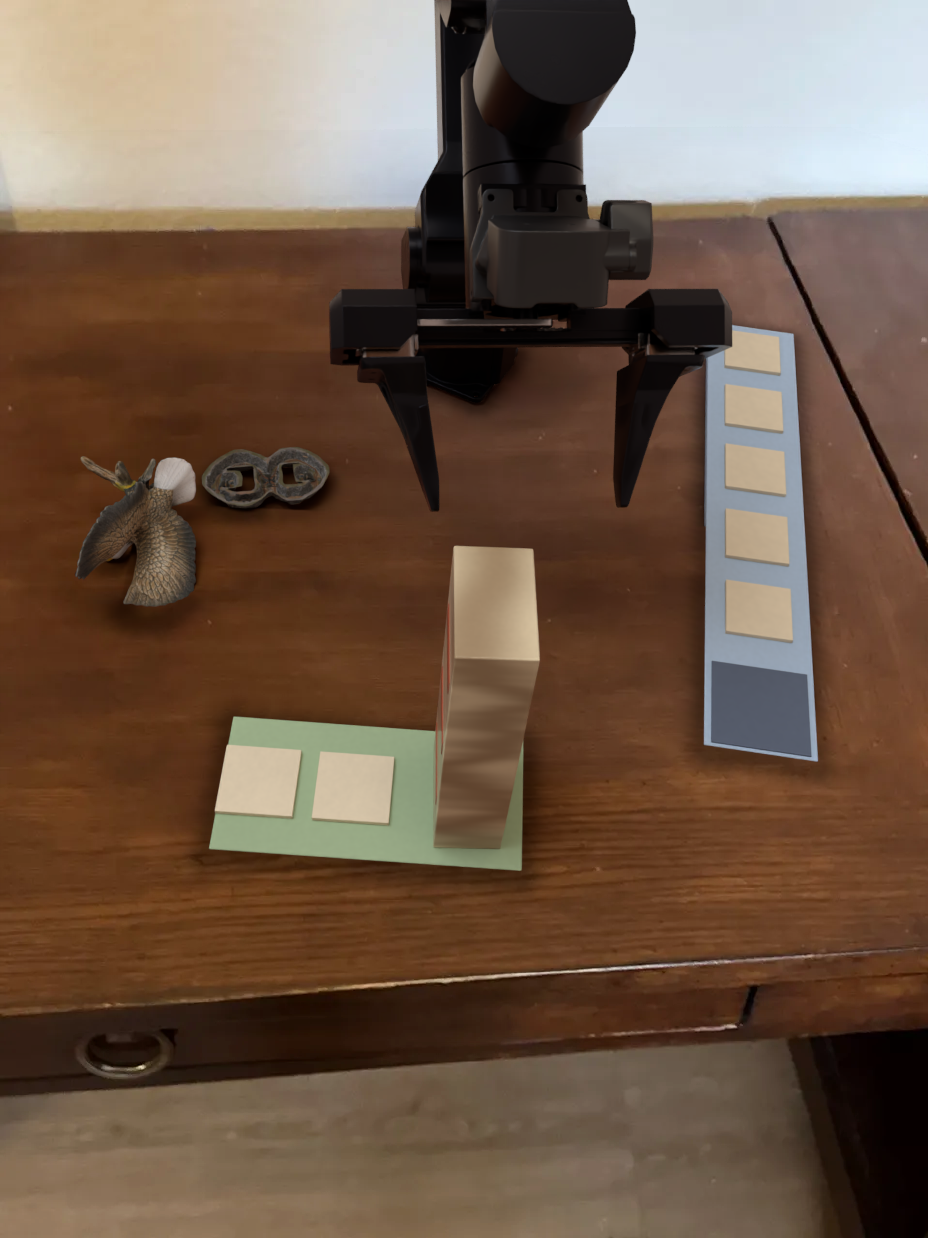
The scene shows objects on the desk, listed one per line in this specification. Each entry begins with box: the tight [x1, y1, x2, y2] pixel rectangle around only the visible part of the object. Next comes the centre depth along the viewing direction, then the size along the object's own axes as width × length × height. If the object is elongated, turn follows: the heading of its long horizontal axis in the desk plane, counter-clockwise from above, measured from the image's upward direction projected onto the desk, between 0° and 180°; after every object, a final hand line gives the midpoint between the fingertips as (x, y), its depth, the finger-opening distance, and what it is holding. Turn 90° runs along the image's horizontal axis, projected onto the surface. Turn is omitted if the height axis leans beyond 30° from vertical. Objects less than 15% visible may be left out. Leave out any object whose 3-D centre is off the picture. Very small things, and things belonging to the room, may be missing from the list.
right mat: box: [703, 324, 819, 763], centre depth 79 cm, size 37×6×1 cm, turn 173°
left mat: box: [208, 716, 525, 872], centre depth 64 cm, size 16×8×1 cm, turn 88°
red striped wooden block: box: [433, 545, 541, 849], centre depth 58 cm, size 4×6×17 cm, turn 1°
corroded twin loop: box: [201, 446, 331, 509], centre depth 77 cm, size 5×8×1 cm, turn 100°
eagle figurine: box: [74, 455, 197, 608], centre depth 71 cm, size 8×7×9 cm
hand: (529, 509), depth 59 cm, fingers open, 9 cm apart
